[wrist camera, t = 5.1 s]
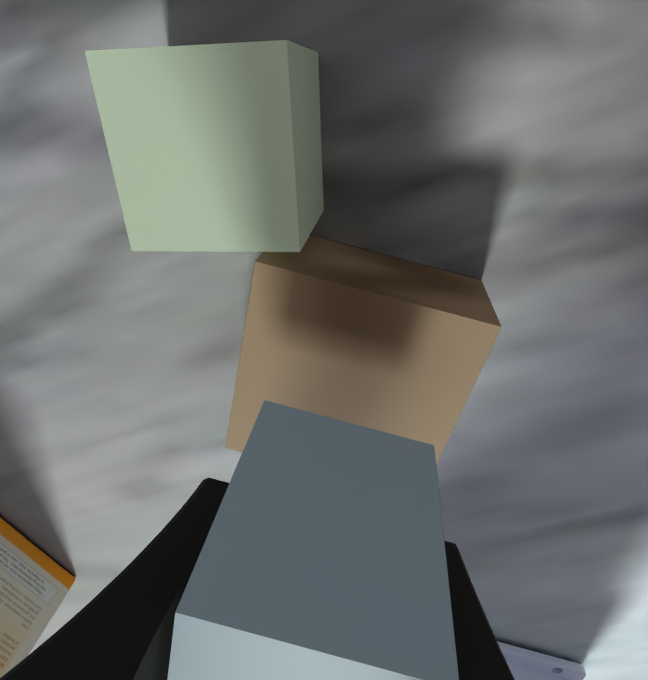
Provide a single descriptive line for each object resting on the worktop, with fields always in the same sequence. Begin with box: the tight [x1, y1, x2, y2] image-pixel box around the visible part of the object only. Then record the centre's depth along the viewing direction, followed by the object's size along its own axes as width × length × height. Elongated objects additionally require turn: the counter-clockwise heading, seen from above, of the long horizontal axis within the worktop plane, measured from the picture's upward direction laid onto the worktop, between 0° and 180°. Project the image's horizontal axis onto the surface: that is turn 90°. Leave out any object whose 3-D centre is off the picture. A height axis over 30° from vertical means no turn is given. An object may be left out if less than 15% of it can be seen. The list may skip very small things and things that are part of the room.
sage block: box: [85, 40, 324, 252], centre depth 13 cm, size 4×4×4 cm
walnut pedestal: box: [225, 235, 501, 465], centre depth 16 cm, size 7×7×4 cm
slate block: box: [167, 400, 459, 680], centre depth 10 cm, size 4×4×5 cm
